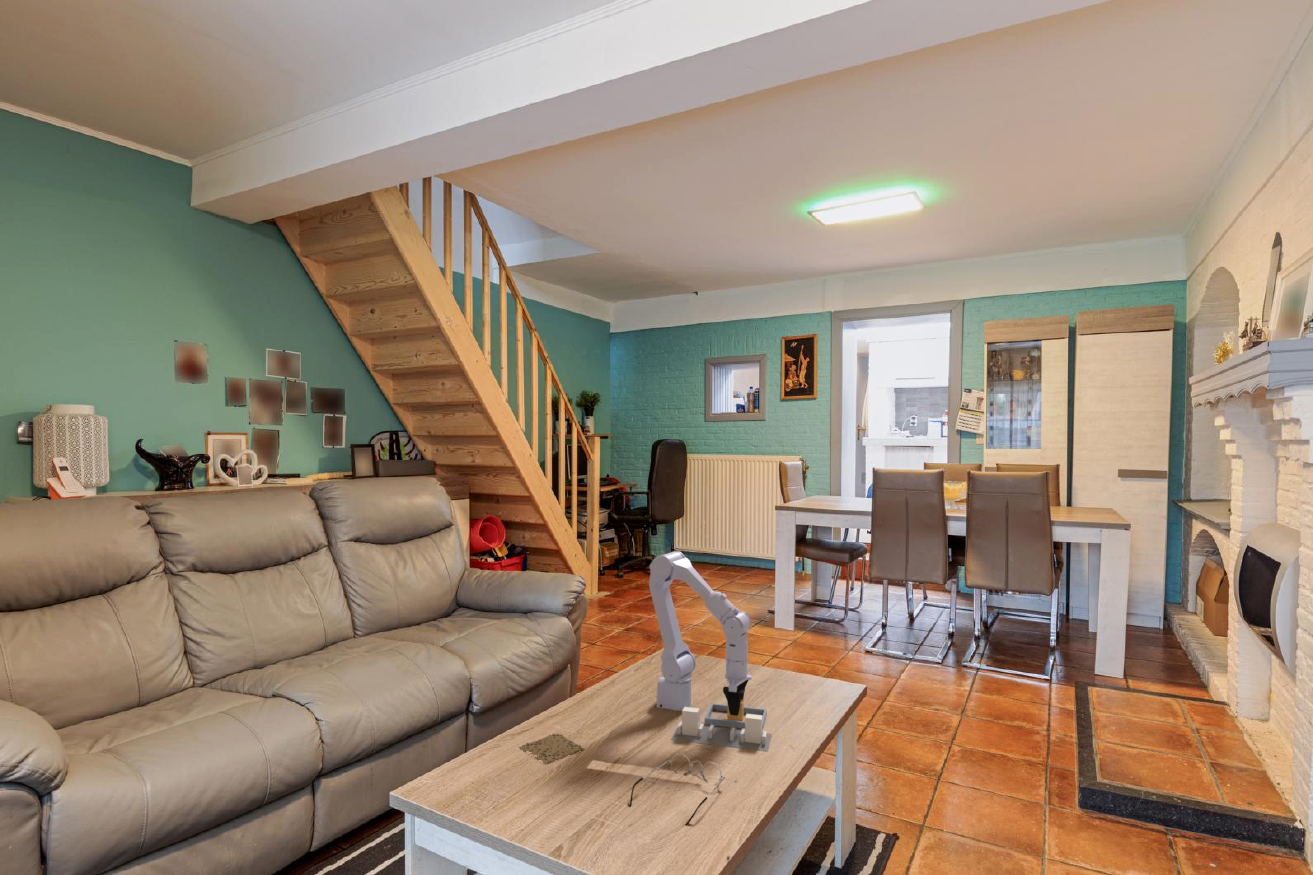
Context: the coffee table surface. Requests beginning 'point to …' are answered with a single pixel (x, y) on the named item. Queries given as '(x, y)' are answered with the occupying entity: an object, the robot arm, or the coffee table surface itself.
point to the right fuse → (753, 728)
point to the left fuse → (690, 721)
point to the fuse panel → (722, 737)
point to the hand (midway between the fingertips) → (736, 709)
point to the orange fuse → (740, 715)
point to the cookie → (552, 748)
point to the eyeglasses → (684, 775)
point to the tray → (731, 722)
